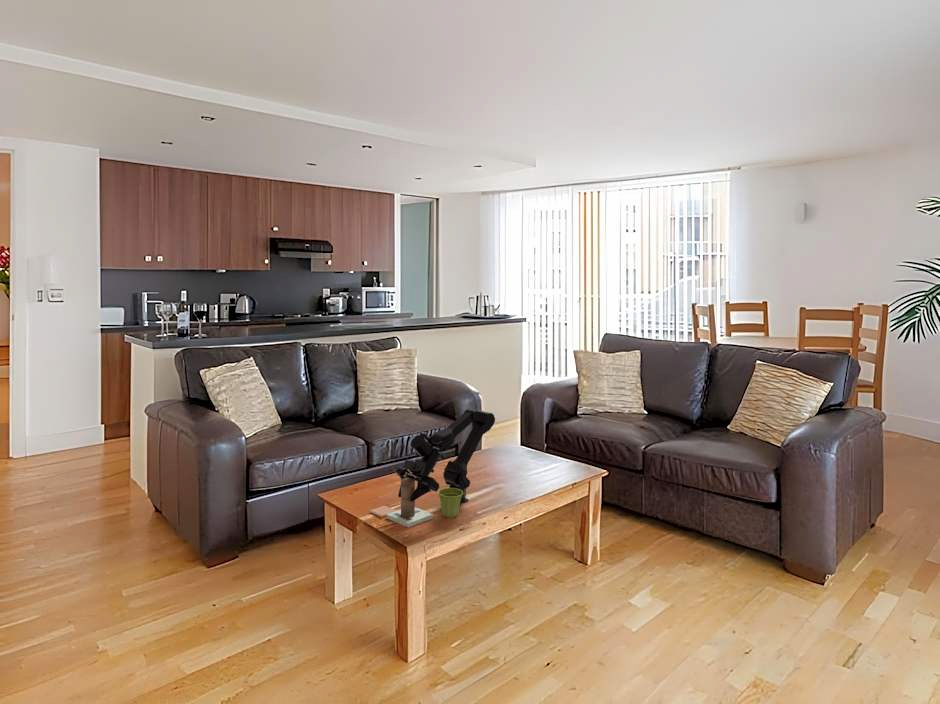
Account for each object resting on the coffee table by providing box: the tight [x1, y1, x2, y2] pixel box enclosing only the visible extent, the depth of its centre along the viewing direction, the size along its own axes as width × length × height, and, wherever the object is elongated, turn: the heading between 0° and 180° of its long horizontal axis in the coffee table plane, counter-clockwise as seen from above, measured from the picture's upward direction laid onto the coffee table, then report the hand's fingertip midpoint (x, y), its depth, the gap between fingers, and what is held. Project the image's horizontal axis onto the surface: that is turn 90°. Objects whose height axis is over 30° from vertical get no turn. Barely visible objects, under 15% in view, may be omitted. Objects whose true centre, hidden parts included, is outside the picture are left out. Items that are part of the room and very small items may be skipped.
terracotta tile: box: [369, 505, 397, 518], centre depth 238 cm, size 7×7×1 cm
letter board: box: [386, 506, 434, 528], centre depth 233 cm, size 12×12×2 cm
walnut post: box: [400, 478, 416, 517], centre depth 231 cm, size 5×5×13 cm
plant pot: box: [437, 487, 463, 518], centre depth 236 cm, size 9×9×9 cm
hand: (404, 498), depth 230 cm, fingers open, 6 cm apart
